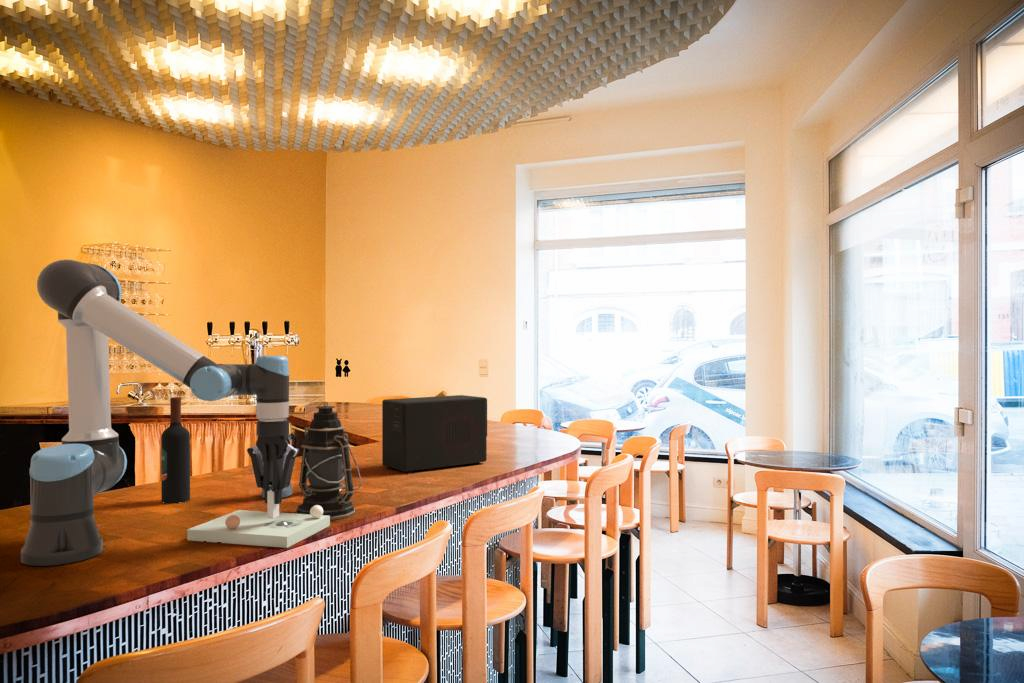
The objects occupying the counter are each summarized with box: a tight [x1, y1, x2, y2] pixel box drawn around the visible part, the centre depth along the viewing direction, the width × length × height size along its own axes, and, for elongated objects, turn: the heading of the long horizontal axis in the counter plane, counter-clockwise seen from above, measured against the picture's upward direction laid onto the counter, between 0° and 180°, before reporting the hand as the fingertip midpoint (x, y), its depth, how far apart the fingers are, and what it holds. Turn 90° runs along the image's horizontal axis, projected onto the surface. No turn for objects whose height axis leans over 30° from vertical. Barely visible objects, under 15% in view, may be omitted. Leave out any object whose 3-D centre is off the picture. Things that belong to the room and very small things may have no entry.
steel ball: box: [276, 521, 289, 526], centre depth 175 cm, size 3×3×3 cm
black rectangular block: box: [381, 394, 488, 474], centre depth 271 cm, size 38×20×25 cm, turn 127°
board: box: [186, 509, 331, 549], centre depth 177 cm, size 20×26×2 cm
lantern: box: [295, 401, 363, 521], centre depth 196 cm, size 20×16×30 cm
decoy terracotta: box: [225, 515, 240, 529], centre depth 171 cm, size 3×3×3 cm
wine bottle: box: [160, 396, 191, 504], centre depth 211 cm, size 8×8×30 cm
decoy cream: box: [310, 505, 323, 518], centre depth 181 cm, size 3×3×3 cm
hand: (273, 516), depth 176 cm, fingers closed
